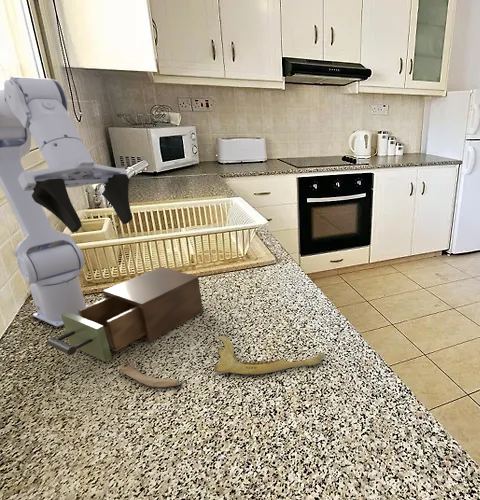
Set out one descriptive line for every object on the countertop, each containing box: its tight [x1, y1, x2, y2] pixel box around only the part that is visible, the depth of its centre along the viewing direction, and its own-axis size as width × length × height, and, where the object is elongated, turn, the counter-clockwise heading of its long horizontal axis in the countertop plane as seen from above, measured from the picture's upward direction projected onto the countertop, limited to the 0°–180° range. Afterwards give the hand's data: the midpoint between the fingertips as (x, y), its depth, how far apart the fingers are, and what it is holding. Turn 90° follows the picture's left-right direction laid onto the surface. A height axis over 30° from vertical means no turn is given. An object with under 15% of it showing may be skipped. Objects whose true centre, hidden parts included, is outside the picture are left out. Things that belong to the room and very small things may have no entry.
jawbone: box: [213, 335, 326, 375], centre depth 67 cm, size 21×9×2 cm, turn 79°
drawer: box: [46, 296, 146, 363], centre depth 70 cm, size 17×10×7 cm, turn 154°
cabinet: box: [102, 266, 204, 343], centre depth 79 cm, size 14×12×9 cm
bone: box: [117, 362, 180, 388], centre depth 63 cm, size 3×11×2 cm, turn 72°
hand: (104, 225), depth 57 cm, fingers open, 7 cm apart
